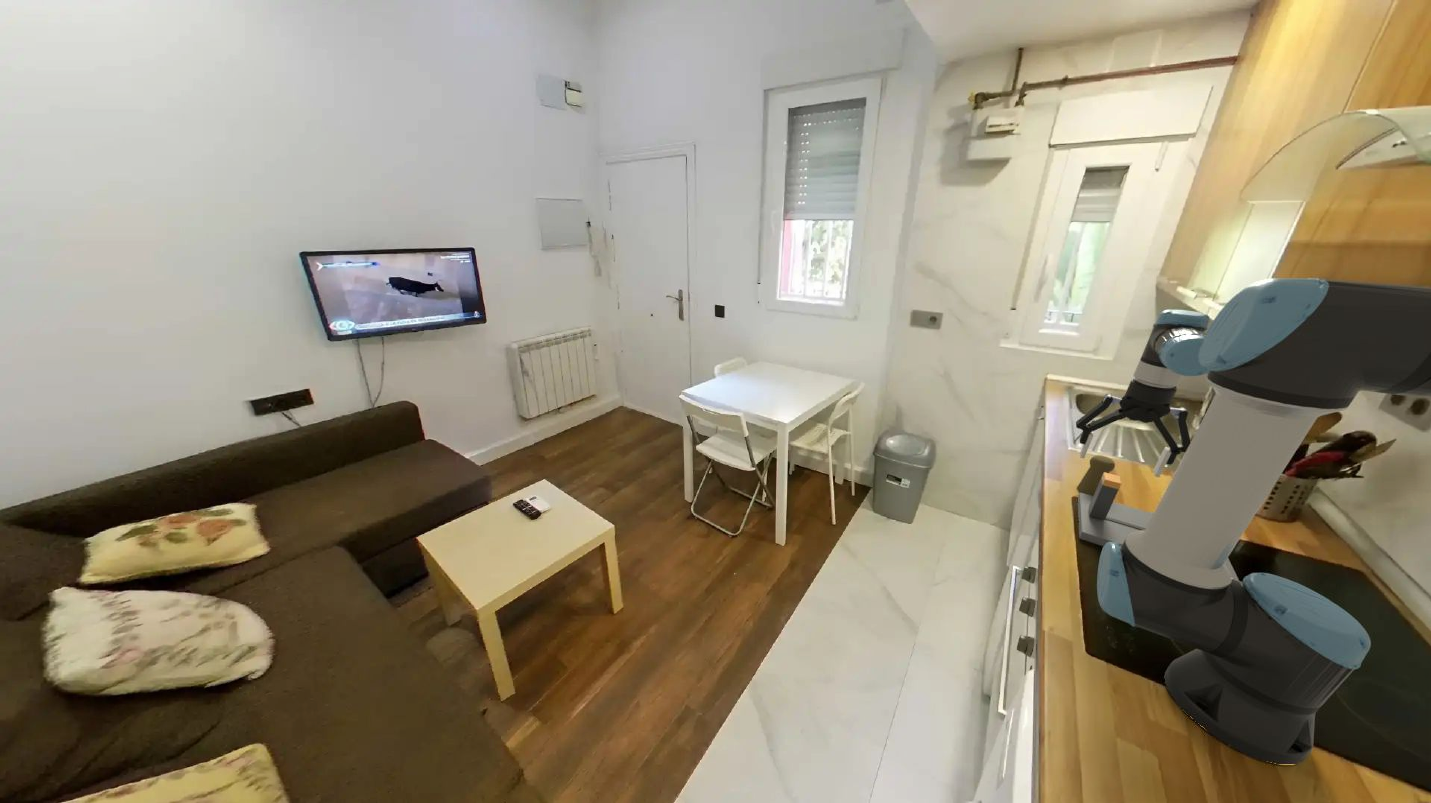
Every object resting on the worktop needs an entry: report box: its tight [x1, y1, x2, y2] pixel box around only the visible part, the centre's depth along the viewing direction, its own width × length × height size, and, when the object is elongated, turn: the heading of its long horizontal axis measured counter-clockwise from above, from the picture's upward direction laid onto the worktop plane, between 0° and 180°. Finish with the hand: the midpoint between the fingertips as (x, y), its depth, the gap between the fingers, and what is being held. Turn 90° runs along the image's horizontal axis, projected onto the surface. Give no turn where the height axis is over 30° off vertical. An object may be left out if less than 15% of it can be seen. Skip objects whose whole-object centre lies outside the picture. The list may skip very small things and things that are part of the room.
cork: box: [1076, 455, 1116, 496], centre depth 121 cm, size 6×6×11 cm
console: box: [1077, 492, 1240, 581], centre depth 106 cm, size 20×26×2 cm
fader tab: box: [1089, 472, 1122, 520], centre depth 108 cm, size 4×3×11 cm
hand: (1117, 464), depth 105 cm, fingers open, 13 cm apart
